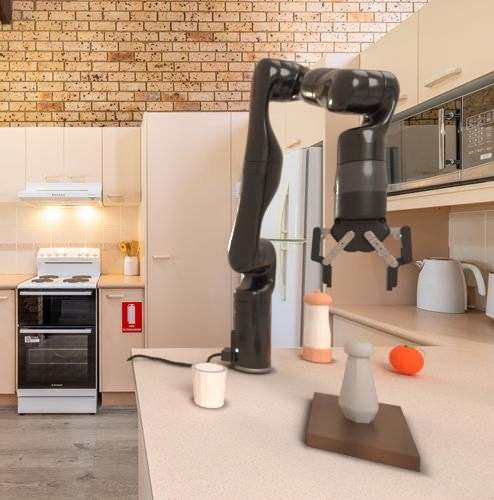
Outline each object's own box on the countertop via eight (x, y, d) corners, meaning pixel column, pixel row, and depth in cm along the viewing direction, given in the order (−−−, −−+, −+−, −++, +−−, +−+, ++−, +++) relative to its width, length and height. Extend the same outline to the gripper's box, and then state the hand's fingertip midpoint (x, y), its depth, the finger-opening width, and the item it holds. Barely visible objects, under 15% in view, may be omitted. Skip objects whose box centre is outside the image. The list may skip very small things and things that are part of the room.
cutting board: (306, 445, 60) (306, 432, 60) (314, 401, 78) (314, 391, 78) (420, 471, 53) (420, 457, 53) (400, 417, 71) (400, 406, 71)
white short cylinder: (227, 398, 79) (228, 363, 79) (225, 411, 72) (225, 374, 72) (193, 393, 81) (194, 360, 81) (188, 406, 75) (188, 369, 75)
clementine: (416, 370, 98) (416, 342, 98) (435, 379, 91) (436, 349, 91) (382, 369, 99) (382, 341, 99) (399, 378, 92) (399, 347, 92)
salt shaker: (385, 427, 62) (386, 345, 62) (345, 424, 63) (346, 343, 63) (369, 412, 68) (370, 337, 68) (333, 409, 69) (334, 335, 69)
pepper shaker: (320, 364, 103) (321, 291, 103) (296, 357, 109) (297, 288, 109) (337, 360, 106) (338, 290, 106) (313, 354, 113) (314, 287, 112)
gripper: (409, 192, 65) (407, 289, 65) (313, 196, 72) (312, 284, 72) (416, 186, 58) (414, 294, 59) (310, 191, 65) (309, 288, 66)
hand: (357, 288), depth 65 cm, fingers open, 8 cm apart
